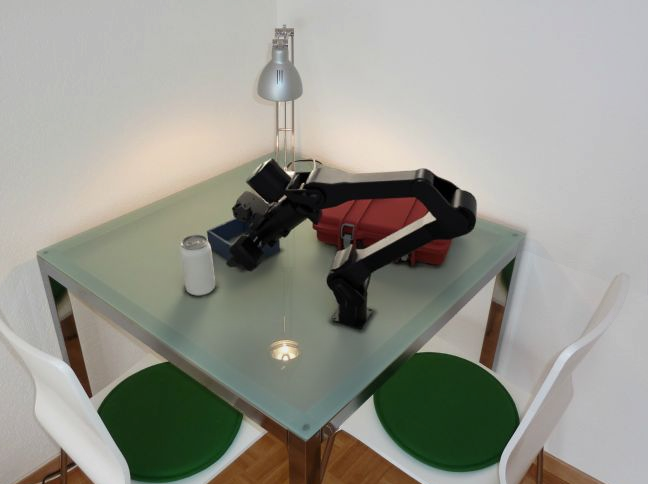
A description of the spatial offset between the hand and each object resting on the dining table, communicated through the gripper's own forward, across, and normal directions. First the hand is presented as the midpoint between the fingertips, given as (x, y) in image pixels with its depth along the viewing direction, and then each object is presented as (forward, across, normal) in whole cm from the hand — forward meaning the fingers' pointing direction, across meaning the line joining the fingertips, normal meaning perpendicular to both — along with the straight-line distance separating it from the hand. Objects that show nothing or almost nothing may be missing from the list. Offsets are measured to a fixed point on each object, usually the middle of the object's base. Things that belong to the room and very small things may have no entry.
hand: (238, 252), depth 130 cm
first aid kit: (-8, -34, +24) cm, 42 cm away
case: (+13, -16, +3) cm, 21 cm away
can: (+15, +1, +1) cm, 15 cm away
